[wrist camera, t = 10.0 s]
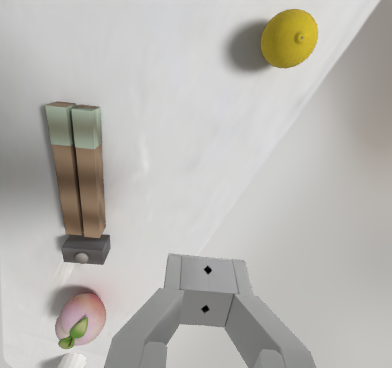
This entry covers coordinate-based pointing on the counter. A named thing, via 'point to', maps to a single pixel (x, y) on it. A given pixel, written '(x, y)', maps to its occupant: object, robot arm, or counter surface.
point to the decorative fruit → (80, 320)
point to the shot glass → (72, 361)
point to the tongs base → (72, 189)
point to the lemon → (289, 38)
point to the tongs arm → (90, 167)
